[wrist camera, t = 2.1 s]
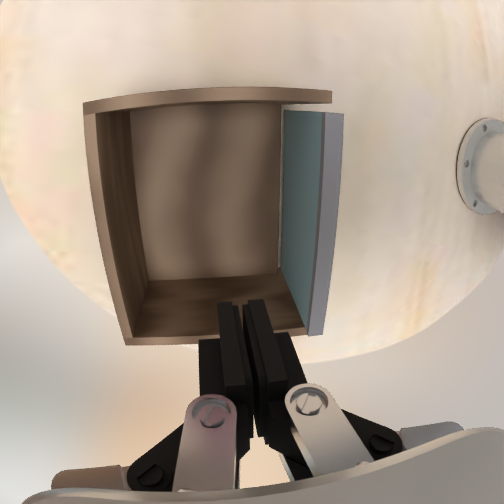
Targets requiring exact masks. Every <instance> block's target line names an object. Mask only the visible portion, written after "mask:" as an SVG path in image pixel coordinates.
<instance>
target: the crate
mask: <svg viewBox="0 0 504 504" xmlns="http://www.w3.org/2000/svg"><path fill="white" fill-rule="evenodd" d="M322 103H332V91H327V90H315V89H300V88H280V87H216V88H195V89H181V90H169V91H158V92H149V93H141V94H133V95H126V96H119V97H113V98H107V99H101V100H95V101H90V102H85V103H83V116H84V132H85V144H86V155H87V164H88V173H89V181H90V188H91V195H92V202H93V208H94V215H95V220H96V226H97V232H98V237H99V242H100V247H101V252H102V257H103V261H104V266H105V270H106V275H107V279H108V283H109V287H110V291H111V295H112V299H113V303H114V307H115V311H116V314H117V318H118V321H119V325H120V328H121V331H122V335H123V338H124V342H125V345H177V344H199V339H214V338H220V336H219V324H218V312H217V302H230V301H232V305H238V307H239V313H240V318H241V323H242V328H243V314H242V305H243V304H248V300H256V299H263V300H264V303H265V306H266V309H267V312H268V315H269V319H270V322H271V325H272V328H273V331H274V333H280V332H288V333H289V335H290V337H291V336H300V335H307V332H306V328H305V326H304V323H303V321H302V319H301V316H300V314H299V311H298V309H297V307H296V304H295V302H294V299H293V297H292V294H291V292H290V290H289V287H288V285H287V283H286V280H285V278H284V275H283V273H282V271H281V268H278V238H279V202H280V152H281V104H322Z"/></svg>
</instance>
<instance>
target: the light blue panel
mask: <svg viewBox="0 0 504 504" xmlns="http://www.w3.org/2000/svg"><path fill="white" fill-rule="evenodd" d="M343 122H344V114H340V113H328V112H312V111H288V110H284V170H283V210H282V240H281V266H280V268H281V271H282V273H283V275H284V278H285V280H286V283H287V285H288V287H289V290H290V292H291V294H292V297H293V299H294V302H295V304H296V307H297V309H298V311H299V314H300V316H301V319H302V321H303V323H304V326H305V328H306V332H307V335H308V336H316V335H322V334H323V328H324V322H325V315H326V308H327V302H328V294H329V287H330V280H331V272H332V264H333V255H334V246H335V237H336V227H337V216H338V205H339V193H340V180H341V164H342V146H343Z"/></svg>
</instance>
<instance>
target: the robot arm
mask: <svg viewBox="0 0 504 504" xmlns="http://www.w3.org/2000/svg"><path fill="white" fill-rule="evenodd" d="M457 180H458V186H459V191H460V194H461V196H462V199H463V200H464V202H465V204H466V205H467V206H468V207H469V208H470V209H471V210H473V211H475V212H476V213H478V214H481V215H490V214H493V213H495V212H497V211H500V212H502V213H503V214H504V123H503V122H501V121H499V120H496V119H491V118H485V119H482V120H479V121H478V122H476V123H475V124H474V125H473V126H472V127H471V128H470V129H469V130H468V132H467V134H466V135H465V137H464V139H463V142H462V144H461V147H460V151H459V155H458V162H457ZM217 312H218V324H219V336H220V338H214V339H199V381H200V382H199V384H200V397H198V398H196V399H194V400H193V401H192V402H191V403H190V404H189V405H188V408H187V410H186V415H185V420H184V423H183V424H182V425H181V426H179V427H178V428H177V429H176V430H175V431H173V432H172V433H171V434H169V435H168V436H167V437H166V438H164V439H163V440H162V441H161V442H159V443H158V444H157V445H155V446H154V447H153V448H152V449H150V450H149V451H148V452H146V453H145V454H144V455H142V456H141V457H140V458H138V459H137V460H136V461H135V462H134V463H133V464H132V465H131V466H126V467H121V466H120V465H115V466H106V467H96V468H86V469H73V470H64V471H61V472H59V473H58V474H56V475H55V477H54V478H53V480H52V485H51V490H48V491H44V492H40V493H37V494H35V495H32V496H30V497H28V498H27V499H26V500H25V501H24V502H23V503H22V504H504V430H502V429H499V428H494V427H483V428H482V427H480V428H472V429H466V430H464V429H463V428H462V427H461V426H460V425H459V424H457V423H454V422H442V423H436V424H430V425H423V426H416V427H409V428H401V430H400V431H396V432H395V431H393V430H392V429H389V428H387V427H385V426H382V425H379V424H377V423H374V422H372V421H369V420H367V419H364V418H362V417H359V416H357V415H354V414H352V413H349V412H347V411H345V410H342V409H340V407H339V406H338V404H337V403H336V401H335V399H334V398H333V396H332V395H331V394H330V392H329V391H328V390H327V389H325V388H323V387H322V386H320V385H316V384H310V383H307V381H306V378H305V375H304V373H303V370H302V367H301V364H300V362H299V359H298V356H297V354H296V351H295V348H294V346H293V343H292V340H291V337H290V335H289V333H288V332H280V333H274V331H273V328H272V325H271V322H270V319H269V315H268V312H267V309H266V306H265V303H264V300H263V299H256V300H248V304H243V305H242V314H243V328H242V323H241V318H240V313H239V307H238V305H232V301H230V302H217ZM253 414H254V419H255V424H256V429H257V435H258V437H264V440H265V444H266V445H267V444H269V447H271V448H272V449H274V450H276V451H278V452H279V457H280V459H281V461H282V463H283V466H284V468H285V470H286V472H287V475H288V477H289V479H290V481H291V482H288V483H281V484H275V485H269V486H260V487H252V488H243V489H239V486H240V459H241V458H242V457H243V456H244V455H245V454H246V453H247V452H248V451H249V449H250V438H253Z"/></svg>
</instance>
